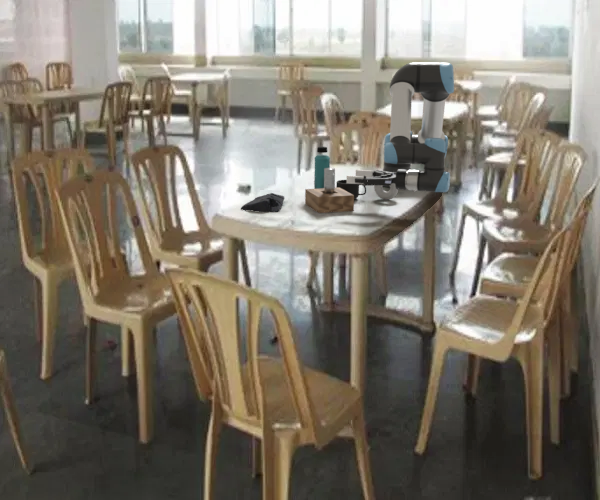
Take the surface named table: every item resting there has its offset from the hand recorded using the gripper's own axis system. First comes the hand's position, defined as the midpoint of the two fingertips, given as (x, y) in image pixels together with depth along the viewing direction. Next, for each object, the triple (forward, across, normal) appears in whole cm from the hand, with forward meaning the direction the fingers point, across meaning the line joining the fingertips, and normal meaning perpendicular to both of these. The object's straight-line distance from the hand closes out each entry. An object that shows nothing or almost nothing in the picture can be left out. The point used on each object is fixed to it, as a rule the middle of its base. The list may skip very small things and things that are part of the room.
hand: (351, 176), depth 316 cm
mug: (+5, +18, -13) cm, 23 cm away
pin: (+8, 0, -12) cm, 14 cm away
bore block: (+8, 0, -13) cm, 15 cm away
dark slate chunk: (+33, -5, -13) cm, 36 cm away
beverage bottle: (+18, +21, -13) cm, 31 cm away
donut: (-9, +22, -13) cm, 27 cm away
